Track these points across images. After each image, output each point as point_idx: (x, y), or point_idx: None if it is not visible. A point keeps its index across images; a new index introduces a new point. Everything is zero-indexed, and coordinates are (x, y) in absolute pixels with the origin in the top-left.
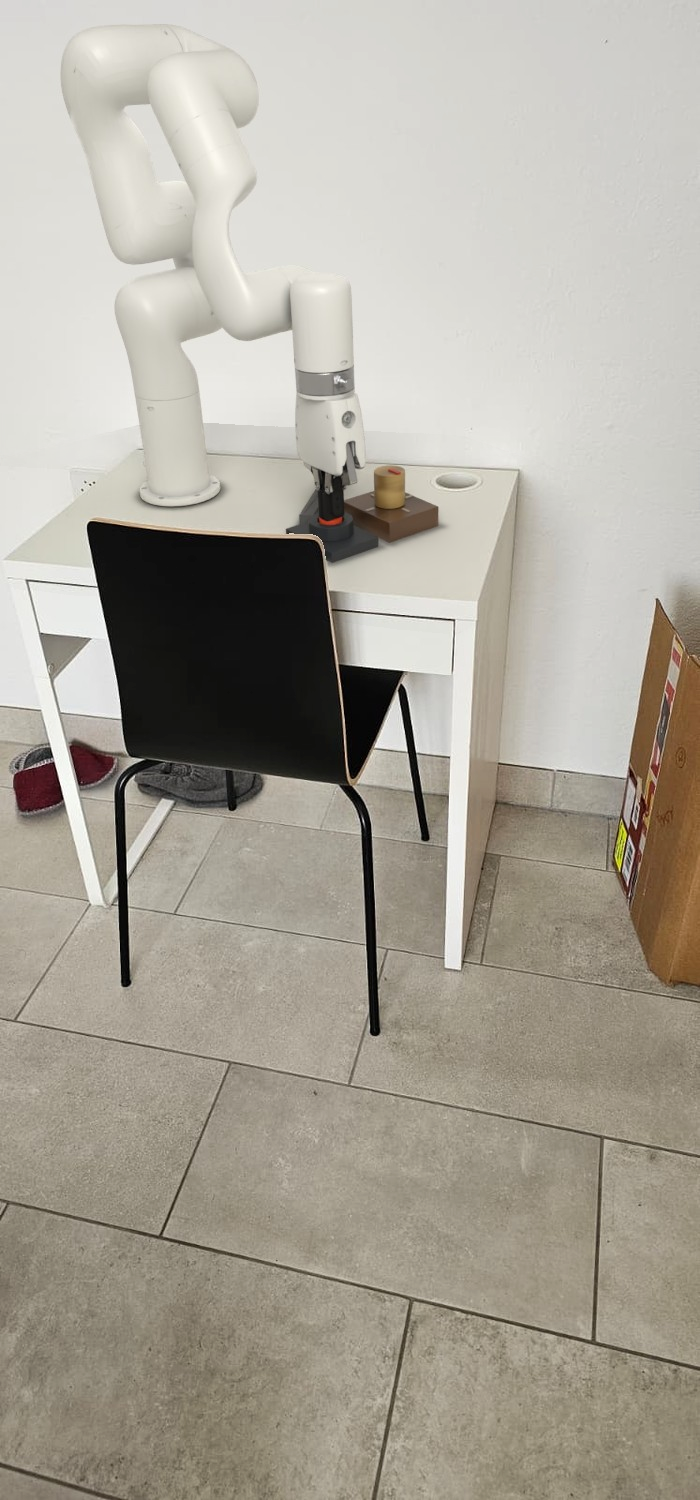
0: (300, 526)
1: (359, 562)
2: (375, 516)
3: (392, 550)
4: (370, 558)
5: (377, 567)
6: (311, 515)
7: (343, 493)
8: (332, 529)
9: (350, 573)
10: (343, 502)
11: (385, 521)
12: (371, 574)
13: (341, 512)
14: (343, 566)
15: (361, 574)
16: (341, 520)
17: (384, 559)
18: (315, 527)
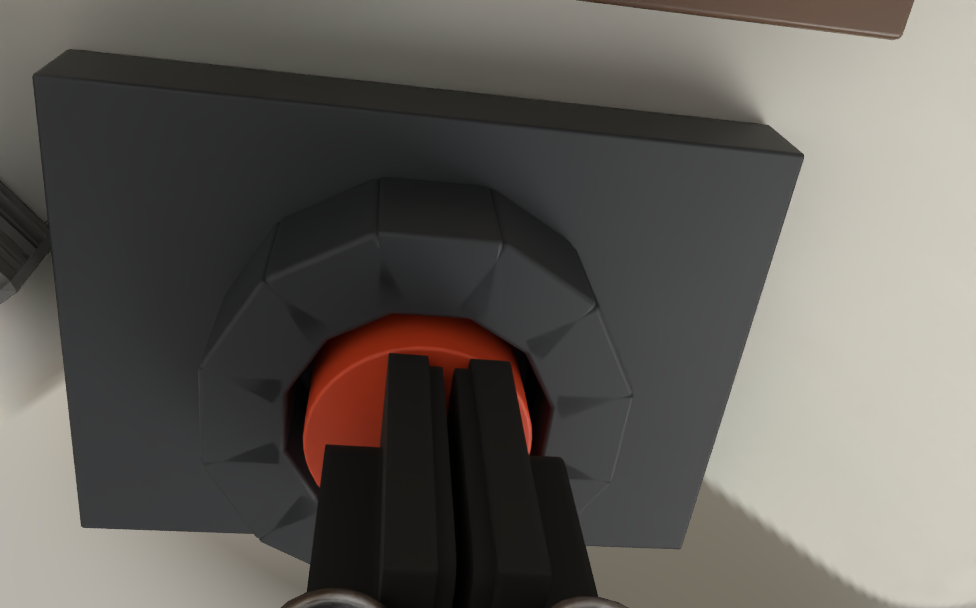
0: (119, 437)
1: (799, 380)
2: (660, 8)
3: (899, 85)
4: (828, 294)
5: (948, 353)
6: (7, 295)
7: (541, 521)
8: None
9: (842, 502)
10: (525, 448)
11: (834, 32)
12: (965, 435)
13: (556, 457)
14: (746, 475)
15: (909, 471)
16: (518, 385)
17: (927, 240)
18: None
